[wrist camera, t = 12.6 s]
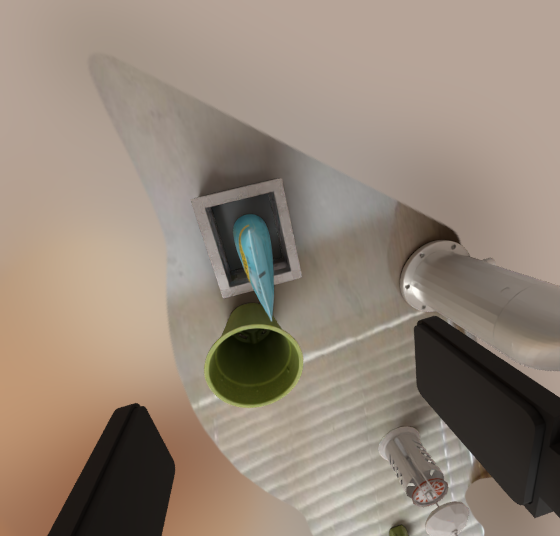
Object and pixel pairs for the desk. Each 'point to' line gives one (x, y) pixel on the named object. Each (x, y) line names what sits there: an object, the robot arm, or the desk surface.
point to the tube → (256, 257)
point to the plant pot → (253, 360)
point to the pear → (398, 531)
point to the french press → (422, 481)
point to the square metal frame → (226, 279)
